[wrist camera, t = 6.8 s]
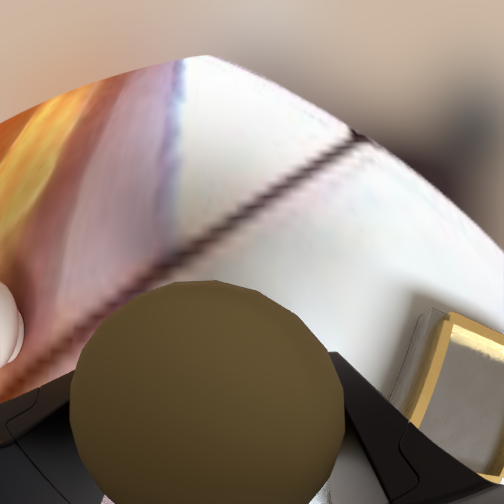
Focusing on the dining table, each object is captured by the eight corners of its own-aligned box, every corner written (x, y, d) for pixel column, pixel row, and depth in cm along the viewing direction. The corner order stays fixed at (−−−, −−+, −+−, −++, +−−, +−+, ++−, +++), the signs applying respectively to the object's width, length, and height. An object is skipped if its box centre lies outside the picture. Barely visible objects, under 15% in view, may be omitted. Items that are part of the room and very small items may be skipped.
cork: (199, 337, 15) (70, 219, 5) (320, 351, 14) (398, 241, 5) (181, 450, 13) (14, 503, 3) (305, 469, 12) (352, 600, 2)
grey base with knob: (451, 534, 12) (477, 550, 8) (328, 511, 15) (338, 535, 11) (521, 361, 17) (553, 351, 13) (418, 317, 21) (444, 298, 17)
